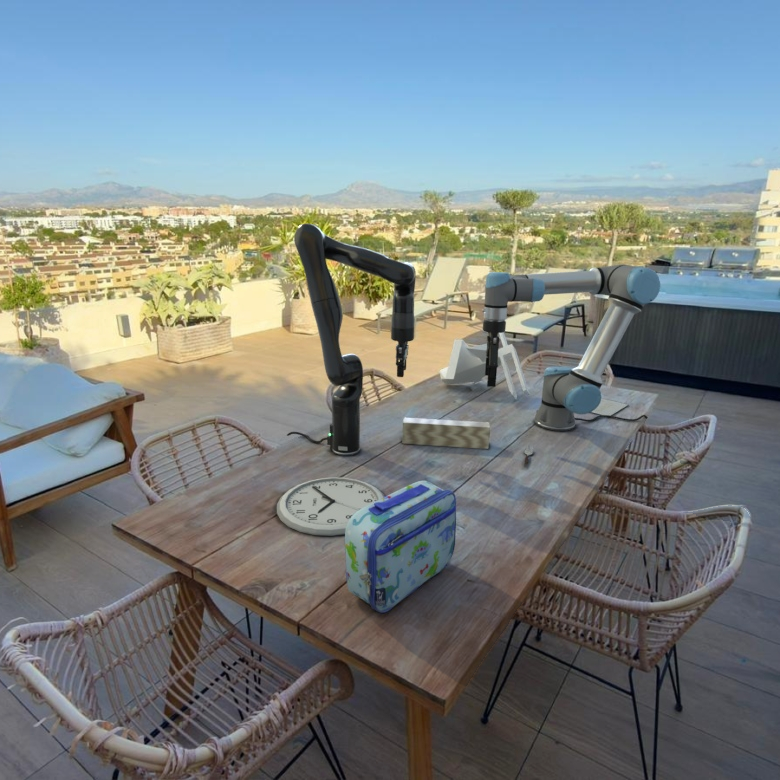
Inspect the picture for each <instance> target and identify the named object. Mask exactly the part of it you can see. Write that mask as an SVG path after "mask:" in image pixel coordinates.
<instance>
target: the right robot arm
mask: <svg viewBox="0 0 780 780" xmlns="http://www.w3.org/2000/svg"><path fill="white" fill-rule="evenodd" d="M484 288H485V289H484V305H483V306H484V308H482V309H481V312H482V313H483V320H482V331H483V332H485V333H487V334H488V335H486V344H487V351H486V356H487V357H486V367H485V377H487V380H486V381H487V382H486V387H487V388H488V387H491V388H496V387H497V373H498V368H499V367H498V349H500V342H501V338H500V335H499V333H503V332H504V333H505V332H506V327H507V321H506V320H507V318H508V317H507V316H508V303H512V302H514V303H515V302H517V303H518V302H519V303H520V302H521V303H526V302H527V303H534V302H540V301H542V300H543V298H544V297H545V295H546V296H547V295H562V294H563V295H564V294H580V293H589V294H590V295H593V296H594V295H602V296H607V297H608V298H607V301H608V303H609V306H608V308H607V309H606V311H605V313H604V315H603V317H602V319H601V321H600V323H599V325H598V327H597V329H596V331H595V333H594V335H593V336H592V338H591V341H590V342H589V344H588V346H587V348H586V350H585V352H584V354H583V356H582V358H581V360H580V361H579V364H578V365H577V366H576V367H571V366H549V367H547V368H546V369H545V370H544V373H543V381H542V382H543V383H542V394H541V402H540V405H539V407H538V409H537V410H536V413H535V417H534V424H535V425H536V426H537V427H539V428H542V429H544V430H549V431H556V432H567V431H572V430H574V429H575V428H576V421H581V422H582V421H583V422H594V421H595V420H597V419H599V418H610V419H611V418H612V419H616V420H620V421H621V420H622V421H627V422H636V421H637V422H638V421H640V420H641V419H642V418H645V419H648V418H649V417H648V415H645V414H641V415H640V416H639V417H637V418H624V417H619V416H616V415H611V416H609V415H600V414H599V415H597V416H595V417H593V418H591V419H585V418H580V417H576V416H575V414H576V415H587V414H590V413H592V411H593V410H595V409H596V408H597V407H598V405H599V404H600V402H601V399H602V392H601V390H600V389H601V388H602V386H603V380H602V377H603V374H604V372H605V370H606V369H607V367H608V365H609V363H610V361H611V359H612V357H613V356H614V353H615V351H616V350H617V348H618V346H619V344H620V342H621V341H622V339H623V336H624V334H625V333H626V331H627V329H628V327H629V326H630V323H631V321H632V319H633V318H634V315H636V314H638V313H641V312H642V310H643V309H644V307H645V305H647V304H650V303H651V302H653V301H654V300H656V298H657V297H658V296H659V293H660V291H661V290H660V289H661V280H660V277H659V275H658V274H657V272H656V271H654V269H652V268H649V267H645V266H641V265H640V266H638V265H628V264H614V265H607V266H600V267H599V266H598V267H592V268H590V269H589V270H581V271H579V270H578V271H563V272H546V273H545V272H544V273H543V272H542V273H528V274H526V273H525V274H512V273H509V272H506V271H491V272H488V273H487V275H486V278H485V285H484ZM498 335H499V336H498Z"/></svg>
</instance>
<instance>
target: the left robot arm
mask: <svg viewBox="0 0 780 780" xmlns="http://www.w3.org/2000/svg"><path fill="white" fill-rule="evenodd" d="M293 240H294V241H293V242H294V245H295V248H296V251H297V253H298V256H299V259H300V262H301V264H302V267H303V271H304V275H305V279H306V280H305V281H306V284H307V285H306V286H307V291H308V296H309V301H310V304H311V309H312V313H313V316H314V320H315V324H316V328H317V331H318V336H319V340H320V345H321V353H322V358H323V363H324V369H325V374H326V376H327V379H328V381H329V382H330V383H331V384H332V385H333V386H336V387H337V389H336V390H335V391H334V392H333V393H332V394H331V423H330V424H329V433H328V436H326V437H323V438H321V439H320V440H315V439H312V438H311V437H310V436H309V435H307V434H305V433H303V432H299V431H290V432H288V433H287V434H286V436H288V437H289V436H291V435H299V436H302V437H305V438H307V440H308V441H310V442H312V443H315V444H321V443H322V442H324V441H326V444H327V445H328V446H329V451H331V452H332V453H333V454H335V455H337V456H343V457H349V456H354V455H357V454H358V453H360V451H361V438H360V437H361V432H360V431H361V422H360V421H361V412H360V410H361V408H360V407H361V405H360V404H361V403H360V401H361V400H360V399H361V397H362V394H363V385H364V384H363V383H364V382H363V381H364V367H363V362H362V360H361V359H360V357H359V356H358V355H357V354H354V353H346V354H342V351H341V346H340V332H341V327H342V324H343V318H344V316H343V315H344V311H343V305H342V301H341V299H340V295H339V292H338V289H337V286H336V283H335V281H334V279H333V276H332V274H331V272H330V270H329V267H328V264H327V260H329V261H333V262H337V263H340V264H343V265H346V266H348V267H351V268H353V269H355V270H357V271H360V272H363V273H366V274H369V275H372V276H374V277H378V278H381V279H383V280H385V281H387V282H388V283H391V284H393V285H394V290H393V296H392V308H391V309H392V310H391V311H392V312H391V318H390V319H391V321H390V323H391V325H390V339H391V340H392V341H394V342H397V344H396V346H395V359H396V360H395V366H396V377H397V378H404V376H405V371H406V370H407V360H408V356H409V348H410V347H409V342H412V341H413V340H414V339H415V289H416V288H415V287H416V275H417V272H416V269H415V267H414V265H413V264H412V263H410V262H407V261H403V262H402V261H398V260H396V259H392V258H389V257H388V256H386V255H385V254H383V253H379V252H377V251H374V250H371V249H367V248H365V247H360V246H356V245H351V244H347V243H344V242H341V241H338V240H336V239H334V238H332V237H330V236H328V235H327V234H325V233H323V231H322V230H321V229H320V228H319V227H318V226H316V225H315V224H312V223H302V224H300V225H299V226H298V227H297V228H296V230H295V232H294V236H293Z"/></svg>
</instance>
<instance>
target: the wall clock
mask: <svg viewBox="0 0 780 780" xmlns="http://www.w3.org/2000/svg"><path fill="white" fill-rule="evenodd" d="M384 497H386V495H385V494H384V493H383V492H382V491H381V490H380V489H379V488H377V487H376V486H374V485H372V484H371V483H369V482H365V481H362V480H359V479H355V478H349V477H338V476H337V477H335V476H333V477H332V476H331V477H322V478H317V479H312V480H307V481H305V482H302V483H299V484H297V485H295V486H293V487H292V488H290V489H288V490H287V491H286V492H285V493H284V494H283V495H281V496H280V498H279V499H278V502H277V503H276V515H277V517H278V518H279V520H280V521H281V522H282V523H283V524H285V525H286V526H287V527H288V528H290V529H293V530H295V531H297V532H299V533H303V534H308V535H312V536H327V537H328V536H329V537H331V536H332V537H333V536H342V535H345V531H346V527H347V524H348V522H349V520H350V518H351V517H352V515H353V514H354V513H355V512H357V511H358V510H360V509H362V508H364V507H366V506H368V505H370V504H372V503H374V502H376V501H378V500H380V499H382V498H384Z"/></svg>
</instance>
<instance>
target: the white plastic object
mask: <svg viewBox="0 0 780 780" xmlns="http://www.w3.org/2000/svg"><path fill="white" fill-rule="evenodd" d="M498 335H499V338H500V342H501V345H502V347H499V349H498V367H497V368H499V367H500V366H502V370H503V373H504V376H505V380H506V383H507V386H508V390H509V393H510V394H511V395H512V397H513V398H514V399H515V400H517V392H516V391H517V390H516V388H515V385H514V381H513V378H512V375H511V371H510V369H509V365H508V361H510V360H513V363H514V366H515V369H516V372H517V376H518V380H519V382H520V385H521V389H522V391H523V393H524V395H525V396H526V397H528V396H531V395H530V390H529V388H528V387H529V386H528V384H527V381H526V378H525V375H524V371H523V369H522V368H523V367H522V366H521V362H520V359H519V355H518V352H517V349H516V347H515V346H514V345H513V343H511V344H508V341H507V337H506V334H505V332H503V333H498ZM486 351H487V343H483V344H479V345H473V346H469V345H468V343H466V342H465V340H464V339H463V338H460V339H458V338H454V340H453V344H452V349H451V353H450V357H449V362H448V366H446V367H444V368H442V369H440V370H439V371H438V372H439V376H440V381H442V383H443V384H444V385H445V386H449V385H458V384H467V383H468V384H469V383H473V384H477V383H480V382H482V381H484V378H485V377H486V376H485V367H486V357H487V356H486Z"/></svg>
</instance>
